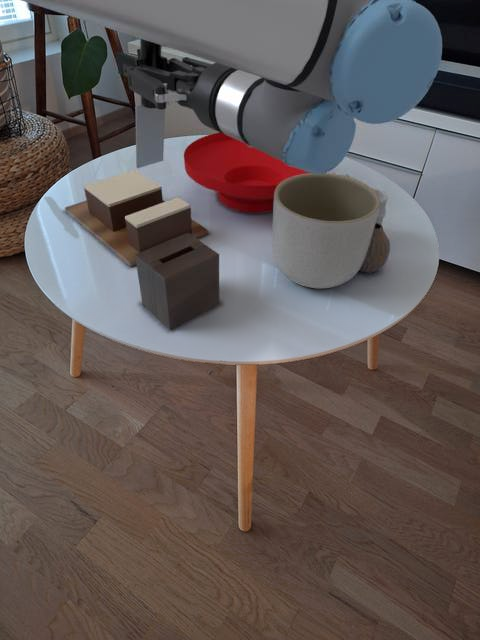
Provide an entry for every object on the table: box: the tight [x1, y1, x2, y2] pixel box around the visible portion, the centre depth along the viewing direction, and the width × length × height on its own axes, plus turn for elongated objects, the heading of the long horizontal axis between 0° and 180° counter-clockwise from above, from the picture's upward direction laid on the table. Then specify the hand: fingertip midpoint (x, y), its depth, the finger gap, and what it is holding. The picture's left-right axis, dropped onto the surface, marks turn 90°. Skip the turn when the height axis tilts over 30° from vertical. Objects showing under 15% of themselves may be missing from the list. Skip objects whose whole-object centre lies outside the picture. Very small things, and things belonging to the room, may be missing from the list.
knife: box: [134, 38, 166, 169], centre depth 69 cm, size 3×5×19 cm, turn 132°
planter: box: [271, 172, 380, 289], centre depth 80 cm, size 17×17×15 cm
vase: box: [358, 223, 391, 274], centre depth 84 cm, size 7×7×9 cm
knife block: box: [135, 233, 220, 330], centre depth 74 cm, size 8×10×10 cm
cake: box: [83, 169, 164, 232], centre depth 95 cm, size 10×12×6 cm
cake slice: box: [125, 196, 192, 253], centre depth 88 cm, size 4×12×6 cm, turn 131°
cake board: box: [64, 199, 209, 268], centre depth 96 cm, size 26×18×1 cm
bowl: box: [183, 132, 310, 214], centre depth 103 cm, size 30×30×10 cm
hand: (130, 61), depth 68 cm, fingers closed on knife, 3 cm apart
